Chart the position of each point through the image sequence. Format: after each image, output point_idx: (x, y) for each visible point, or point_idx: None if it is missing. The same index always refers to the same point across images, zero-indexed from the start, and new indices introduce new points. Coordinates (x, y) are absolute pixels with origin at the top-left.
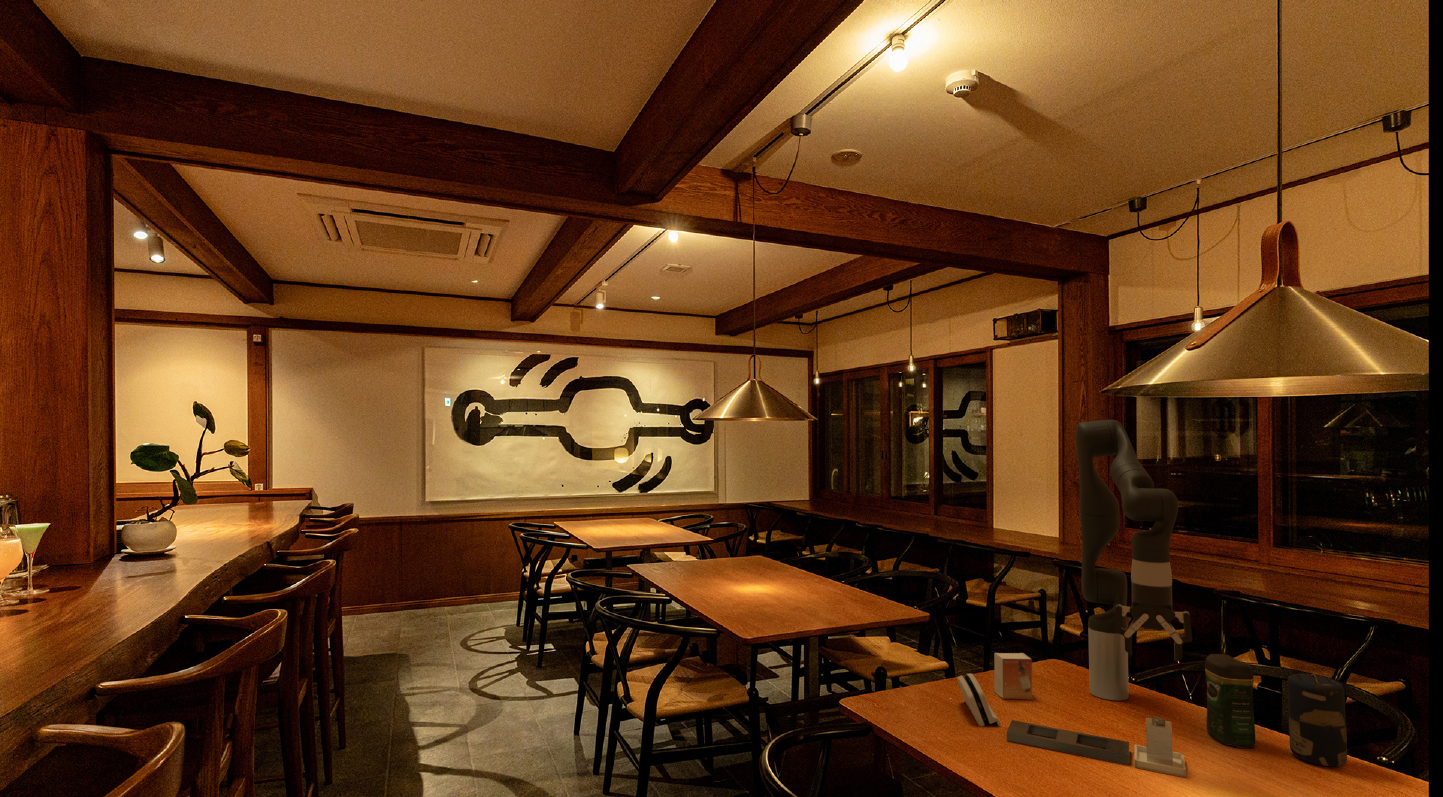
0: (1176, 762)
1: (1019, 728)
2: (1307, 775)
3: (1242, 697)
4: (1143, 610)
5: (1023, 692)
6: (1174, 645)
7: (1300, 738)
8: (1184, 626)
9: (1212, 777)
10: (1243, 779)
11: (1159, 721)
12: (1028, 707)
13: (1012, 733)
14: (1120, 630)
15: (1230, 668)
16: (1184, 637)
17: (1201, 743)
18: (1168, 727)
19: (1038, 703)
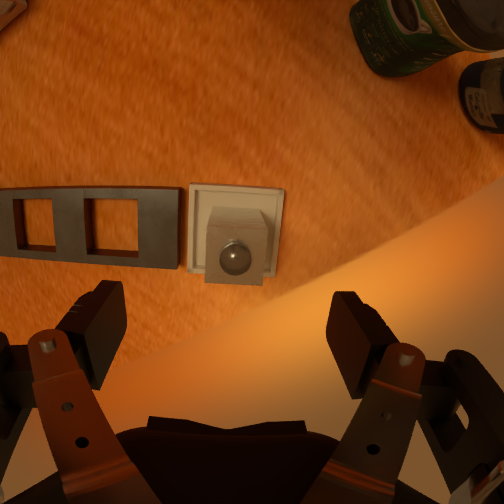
0: (266, 215)
1: (5, 229)
2: (456, 167)
3: (459, 51)
4: None
5: (7, 15)
6: (353, 371)
7: (488, 114)
8: (446, 483)
9: (318, 246)
10: (366, 230)
11: (236, 275)
12: (17, 52)
13: (4, 255)
14: (26, 411)
15: (491, 38)
16: (423, 414)
17: (331, 70)
18: (255, 278)
19: (35, 17)
